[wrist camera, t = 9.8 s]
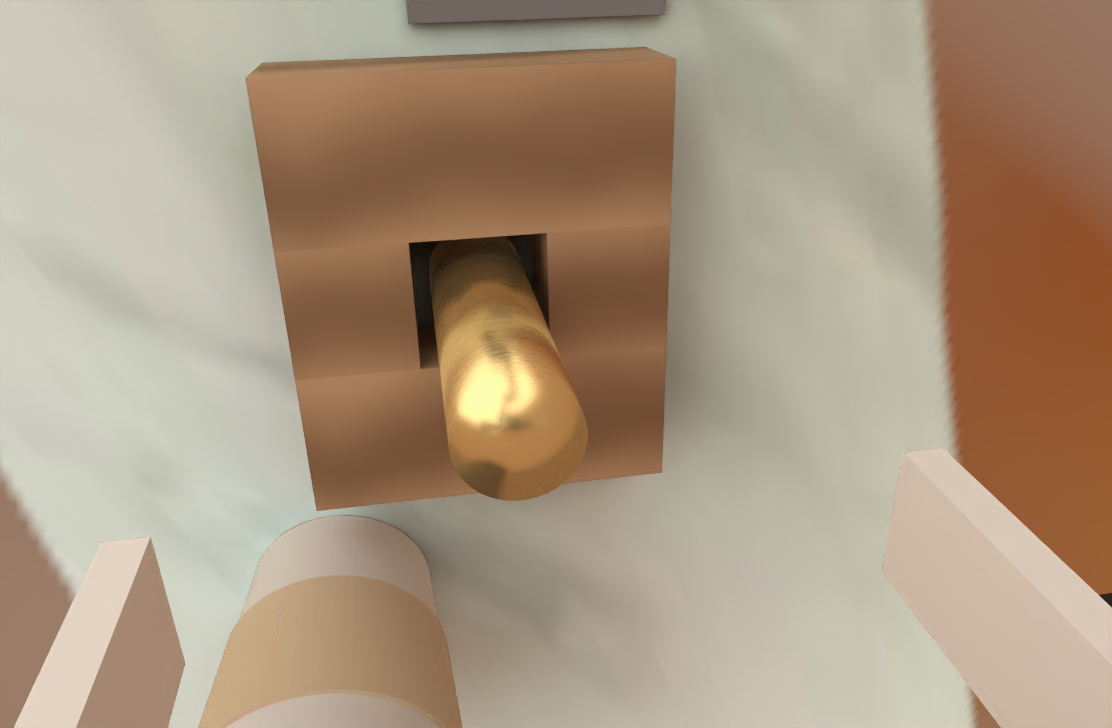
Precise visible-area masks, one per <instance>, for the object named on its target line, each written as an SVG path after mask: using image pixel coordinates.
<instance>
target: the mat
mask: <svg viewBox="0 0 1112 728" xmlns="http://www.w3.org/2000/svg"><path fill="white" fill-rule="evenodd" d="M406 2H407V13H408V23H409V24H412V23H440V22H468V21H496V20H523V19H551V18H579V17H607V16H634V15H662V14H664V10H665V0H406Z"/></svg>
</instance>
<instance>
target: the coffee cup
mask: <svg viewBox="0 0 1112 728" xmlns="http://www.w3.org/2000/svg"><path fill="white" fill-rule="evenodd" d="M198 728H462V723H461V717H460V712H459V706H458V701H457V696H456V690H455V685H454V680H453V674H452V669H451V663H450V658H449V653H448V647H447V642H446V638H445V634H444V631H443V629H442V627H441V625H440V623H439V621H438V616H437V611H436V605H435V599H434V594H433V588H432V582H431V577H430V571H429V567H428V564H427V561H426V559H425V557H424V555H423V553H422V552H421V550H420V549H419V547H418V546H417V545H416V544H415V543H414V542H413V541H412V540H411V539H410V538H409V537H408V536H407V535H405V534H404V533H403V532H401V531H400V530H398V529H396V528H394V527H393V526H391V525H388V524H386V523H384V522H381V521H378V520H374V519H371V518H366V517H360V516H343V515H342V516H330V517H323V518H319V519H315V520H311V521H308V522H305V523H303V524H300V525H298V526H296V527H294V528H292V529H291V530H289V531H287V532H286V533H284V534H283V535H281V536H280V537H279V538H278V539H276V540H275V541H274V542H273V543H272V544H271V545H270V546H269V548H268V549H267V550H266V551H265V553H264V554H263V556H262V558H261V560H260V562H259V564H258V566H257V569H256V572H255V575H254V578H253V581H252V584H251V587H250V590H249V593H248V596H247V599H246V602H245V605H244V608H243V611H242V614H241V617H240V620H239V621H238V622H237V624H236V625H235V627H234V629H233V630H232V632H231V635H230V637H229V640H228V642H227V645H226V648H225V651H224V654H223V657H222V660H221V663H220V666H219V668H218V671H217V674H216V677H215V680H214V683H213V686H212V689H211V692H210V695H209V697H208V700H207V703H206V706H205V709H204V712H203V715H202V718H201V721H200V724H199V727H198Z"/></svg>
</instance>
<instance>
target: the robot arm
mask: <svg viewBox="0 0 1112 728" xmlns="http://www.w3.org/2000/svg"><path fill="white" fill-rule="evenodd" d="M882 572H883V574H884V575H885V576H886V578H887V579H888V580H889V581H890V583H891V584H892V585H893V587H894V588H895V589H896V591H897V592H898V593H899V595H900V596H901V597H902V598H903V600H904V601H905V602H906V604H907V605H908V606H909V608H910V609H911V610H912V612H913V613H914V614H915V616H916V617H917V618H918V619H919V621H920V622H921V623H922V625H923V626H924V627H925V629H926V630H927V631H928V633H929V634H930V635H931V636H932V638H933V639H934V640H935V642H936V643H937V644H938V646H939V647H940V648H941V650H942V651H943V652H944V653H945V655H946V656H947V657H948V659H949V660H950V661H951V663H952V664H953V665H954V667H955V668H956V669H957V670H958V672H959V673H960V674H961V676H962V677H963V678H964V680H965V681H966V682H967V684H968V685H969V686H970V688H971V689H972V690H973V691H974V693H975V694H976V695H977V697H978V698H979V699H980V701H981V702H982V703H983V705H984V706H985V707H986V708H987V710H988V711H989V712H990V714H991V715H992V716H993V717H994V719H995V720H996V722H997V723H998V724H999V725H1000V727H1001V728H1112V593H1109V594H1102V595H1098V594H1097V593H1095V591H1093V590H1092V589H1091V588H1090V587H1089V586H1088V585H1087V584H1086V583H1085V582H1084V581H1083V580H1082V579H1081V578H1080V577H1079V576H1077V574H1076V573H1074V572H1073V571H1072V570H1071V569H1070V568H1069V567H1068V566H1067V565H1066V564H1065V563H1064V562H1063V561H1062V560H1060V558H1059V557H1057V556H1056V555H1055V554H1054V553H1053V552H1052V551H1051V550H1050V549H1049V548H1048V547H1047V546H1046V545H1045V544H1044V543H1043V542H1042V541H1041V540H1039V539H1038V538H1037V537H1036V536H1035V535H1034V534H1033V533H1032V532H1031V531H1030V530H1029V529H1028V528H1027V527H1026V526H1025V525H1024V524H1023V523H1021V522H1020V521H1019V520H1018V519H1017V518H1016V517H1015V516H1014V515H1013V514H1012V513H1011V512H1010V511H1009V510H1008V509H1007V508H1006V507H1004V506H1003V505H1002V504H1001V503H1000V502H999V501H998V500H997V499H996V498H995V497H994V496H993V495H992V494H991V493H990V492H989V491H988V490H986V489H985V488H984V487H983V486H982V485H981V484H980V483H979V482H978V481H977V480H976V479H975V478H974V477H973V476H972V475H971V474H969V473H968V472H967V471H966V470H965V469H964V468H963V467H962V466H961V465H960V464H959V463H958V462H957V461H956V460H955V459H954V458H953V457H951V456H950V455H949V454H948V453H947V452H946V451H945V450H944V449H943V448H936V449H927V450H918V451H909V452H904V453H903V458H902V463H901V469H900V474H899V480H898V485H897V491H896V496H895V502H894V507H893V513H892V518H891V524H890V529H889V534H888V540H887V545H886V551H885V556H884V562H883V567H882ZM184 666H185V661H184V657H183V653H182V650H181V646H180V643H179V639H178V635H177V632H176V628H175V624H174V621H173V617H172V613H171V610H170V606H169V602H168V599H167V595H166V592H165V588H164V584H163V581H162V577H161V573H160V570H159V566H158V562H157V559H156V555H155V551H154V548H153V544H152V540H151V537H144V538H135V539H126V540H117V541H108V542H100V545H99V547H98V549H97V551H96V553H95V555H94V557H93V560H92V562H91V564H90V566H89V568H88V570H87V572H86V575H85V577H84V579H83V581H82V583H81V585H80V587H79V590H78V592H77V594H76V596H75V598H74V600H73V602H72V605H71V607H70V609H69V611H68V613H67V615H66V617H65V619H64V622H63V624H62V626H61V628H60V630H59V632H58V634H57V637H56V639H55V641H54V643H53V645H52V647H51V649H50V652H49V654H48V656H47V658H46V660H45V662H44V665H43V667H42V669H41V671H40V673H39V675H38V677H37V680H36V682H35V684H34V686H33V688H32V690H31V692H30V695H29V697H28V699H27V701H26V703H25V705H24V707H23V710H22V712H21V714H20V716H19V718H18V720H17V722H16V725H15V727H14V728H168V724H169V720H170V717H171V713H172V710H173V706H174V702H175V699H176V695H177V691H178V688H179V684H180V681H181V677H182V673H183V670H184Z"/></svg>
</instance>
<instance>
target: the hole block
mask: <svg viewBox="0 0 1112 728" xmlns="http://www.w3.org/2000/svg"><path fill="white" fill-rule="evenodd" d="M675 76H676V59H674V58H671V57H669V56H666V55H664V54H661V53H658V52H656V51H653V50H651V49H648V48H646V47H639V48H614V49H590V50H566V51H542V52H518V53H493V54H469V55H445V56H421V57H397V58H372V59H348V60H324V61H300V62H276V63H262V64H261V65H260V66H258V67H257V68H256V69H255V70H254V71H253V72H252V73H251V74H250V75H248V76H247V77H246V84H247V90H248V96H249V102H250V109H251V115H252V121H253V127H254V133H255V139H256V145H257V151H258V157H259V163H260V169H261V175H262V181H263V188H264V194H265V200H266V206H267V212H268V218H269V224H270V230H271V236H272V242H273V248H274V254H275V260H276V267H277V273H278V279H279V285H280V291H281V297H282V303H283V309H284V315H285V321H286V327H287V333H288V339H289V346H290V352H291V358H292V364H293V370H294V376H295V382H296V388H297V394H298V400H299V406H300V412H301V418H302V425H303V431H304V437H305V443H306V449H307V455H308V461H309V467H310V473H311V479H312V485H313V491H314V497H315V504H316V510H317V511H320V510H329V509H338V508H347V507H356V506H365V505H374V504H383V503H392V502H401V501H410V500H419V499H428V498H437V497H446V496H455V495H464V494H473V493H479V492H478V491H476V490H474V489H473V488H471V487H470V486H469V485H468V484H466V483H465V481H464V480H463V479H462V478H461V477H460V476H459V474H458V473H457V471H456V470H455V468H454V466H453V464H452V461H451V457H450V452H449V445H448V437H447V428H446V419H445V411H444V402H443V393H442V385H441V376H440V367H439V358H438V350H437V341H436V332H435V326H428V327H418V325H417V315H416V304H415V294H414V284H413V273H412V263H411V252H410V243H413V242H427V241H441V240H455V239H469V238H484V237H498V236H512V235H526V234H532V250H533V279H534V295H535V297H536V299H537V302H538V304H539V307H540V309H541V312H542V314H543V316H544V319H545V321H546V324H547V326H548V329H549V331H550V333H551V336H552V338H553V341H554V343H555V346H556V348H557V350H558V353H559V355H560V358H561V360H562V363H563V365H564V367H565V370H566V372H567V375H568V377H569V380H570V382H571V384H572V387H573V389H574V392H575V394H576V397H577V399H578V401H579V404H580V406H581V409H582V411H583V414H584V416H585V419H586V423H587V428H588V441H587V446H586V451H585V453H584V456H583V458H582V460H581V462H580V464H579V466H578V467H577V469H576V470H575V471H574V473H573V474H572V475H571V476H570V477H569V478H568V479H567V480H566V481H565V482H563V483H572V482H581V481H590V480H599V479H608V478H617V477H626V476H635V475H644V474H653V473H662V453H663V424H664V395H665V366H666V337H667V308H668V279H669V250H670V221H671V192H672V163H673V134H674V105H675ZM563 483H562V484H563Z"/></svg>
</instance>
